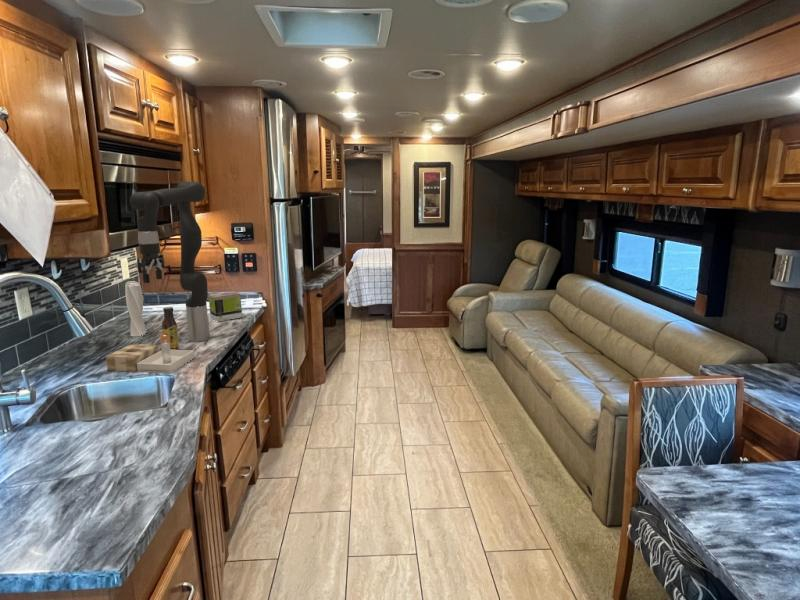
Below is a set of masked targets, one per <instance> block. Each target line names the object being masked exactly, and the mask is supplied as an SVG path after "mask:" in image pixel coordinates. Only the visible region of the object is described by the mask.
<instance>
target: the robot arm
mask: <svg viewBox="0 0 800 600" xmlns="http://www.w3.org/2000/svg"><path fill="white" fill-rule="evenodd" d="M205 197H206V189H205V187H204V185H203V183H200V182H197V181H179V182H178V184H177V187H172V188H169V187H168V188H161V189H156V190H150V191H137V192H134V193H133V194H132V195H131V196H129V204H130V206H131V207H132V208H133V209H135V210H138V211H145V212H144V215H143V216H142V215H141V216H138V217H137V219H136V223H137V240H138V247H139V249H138V250H139V254H140V255H142V257H138V258H137V260H136V261H137V272H138V274H142V279H143V284H149V283H150V282H151V280H150V274H149V273H150V270H152V268H154V269H155V278H156V280H162V279H163V272H162V271H163V270H164V269H165V268H166V265H165V259H164V258H165V257H164V254H160V253H161V247H160V238H159V232H158V223H157V219H158V214H159V208H161V207H162V208H163V207H167V206H171V205H176V204H177V205H178V213H179V227H180V228H179V229H180V231H179V232H180V233H179V236H180V272H179V284H180V287H181V289H183V290H184V291H186V292H191V297H190V298H187V299H186V300H185V308H186V309H185V311H186V319H187V321H186V323H187V332H188V340H189V342H192V341H194V343H198V342H197V341H201V342H204V341H203V340H205V341H208V340H209V339H210V337H211V333H210V323H209V317H208V316H209V315H208V306H207V305H208V304H207V301H208V299H209V296H208V295H209V294H208V279H207V277H206V275H205V274H204V273H202V272H196V271H195V264H196V263H195V262H196V259H197V256H198V254H199V252H200V250H201V248H202V244H203V243H202V242H203V241H202V239H203V237H202V229H201V227H200V225H199V223H198V222H197V220H196V219H195V217H194V214H193V212H192V207H191V203H199V202H202V201H203V200H204V199H205ZM209 336H210V337H209ZM207 339H208V340H207Z"/></svg>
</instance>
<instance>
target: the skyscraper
mask: <svg viewBox="0 0 800 600" xmlns="http://www.w3.org/2000/svg"><path fill="white" fill-rule="evenodd" d="M124 287H125V290H124V291H125V292H124V293H125V302H126V308H127V311H128V313H129V314H128V315H129V317H130V337H140V336H141V335H142V336H144V335H146V334H145V333H147V332H148V331H147V328H146V325H145V321H144V318H143V311H144V297H143V291H142V286H141V284H140V283H139V282H138V281H132V280H131V281H126V283H125V286H124ZM143 334H144V335H143ZM142 336H141V337H142Z"/></svg>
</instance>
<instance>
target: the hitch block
mask: <svg viewBox="0 0 800 600" xmlns="http://www.w3.org/2000/svg"><path fill="white" fill-rule="evenodd" d="M159 351H160V350H159V345H158V344H141V343H140V344H139V343H131V344H129V345H126V346H124V347H123V348H120V349H118V350H115V351H113V352H111V353H109V354H108V355H106V356H105V360H106V367H107V368H106V369H107V371H113V370H114V372H115V371H116V372H117V371H118V372H121V371H122V372H133V373H134V372H138V369H137V363H139V362H141V361H142V360H144V359H146V358H148V357H150V356H152V355H154V354H155V353H157V352H159Z"/></svg>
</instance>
